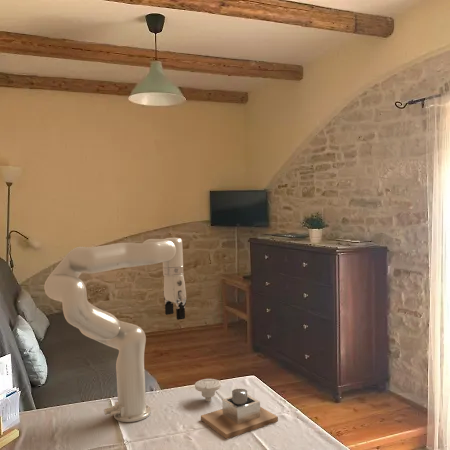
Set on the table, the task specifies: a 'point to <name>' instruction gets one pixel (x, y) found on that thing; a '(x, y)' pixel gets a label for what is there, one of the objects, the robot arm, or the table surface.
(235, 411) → the board
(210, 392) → the showerhead
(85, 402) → the table surface
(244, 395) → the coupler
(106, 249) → the robot arm
